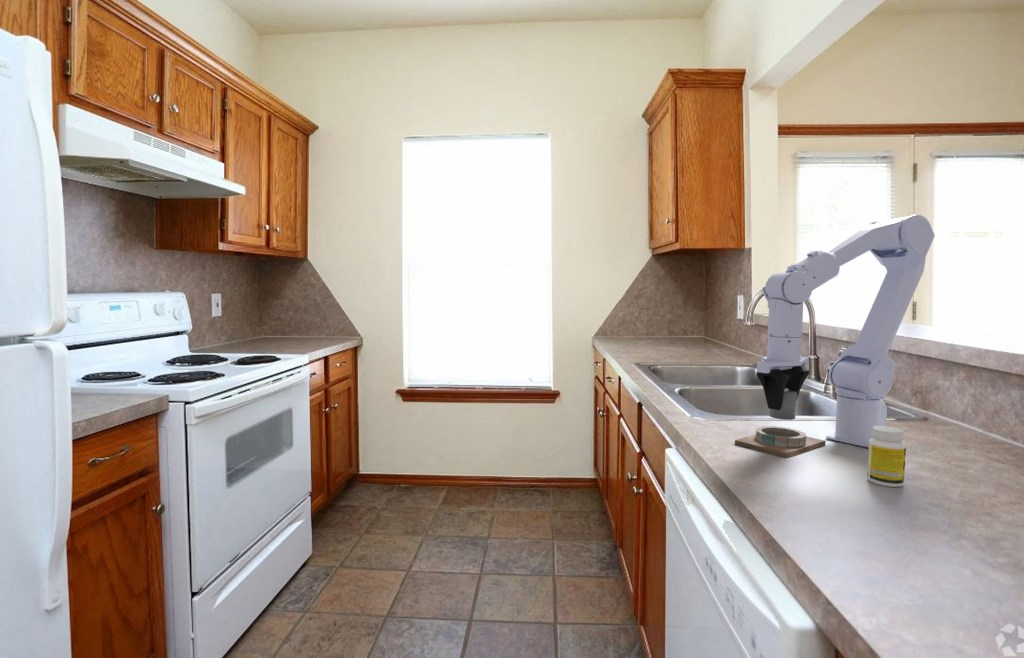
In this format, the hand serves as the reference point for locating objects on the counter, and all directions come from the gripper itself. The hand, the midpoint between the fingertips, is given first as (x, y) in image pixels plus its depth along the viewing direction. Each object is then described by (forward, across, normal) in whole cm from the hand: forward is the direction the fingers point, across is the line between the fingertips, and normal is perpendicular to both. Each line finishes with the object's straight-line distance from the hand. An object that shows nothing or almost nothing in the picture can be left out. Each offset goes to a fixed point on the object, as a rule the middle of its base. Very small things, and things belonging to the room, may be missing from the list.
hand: (781, 407), depth 103 cm
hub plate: (+7, 0, 0) cm, 7 cm away
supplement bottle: (+7, +6, +20) cm, 22 cm away
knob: (+2, 0, 0) cm, 2 cm away
